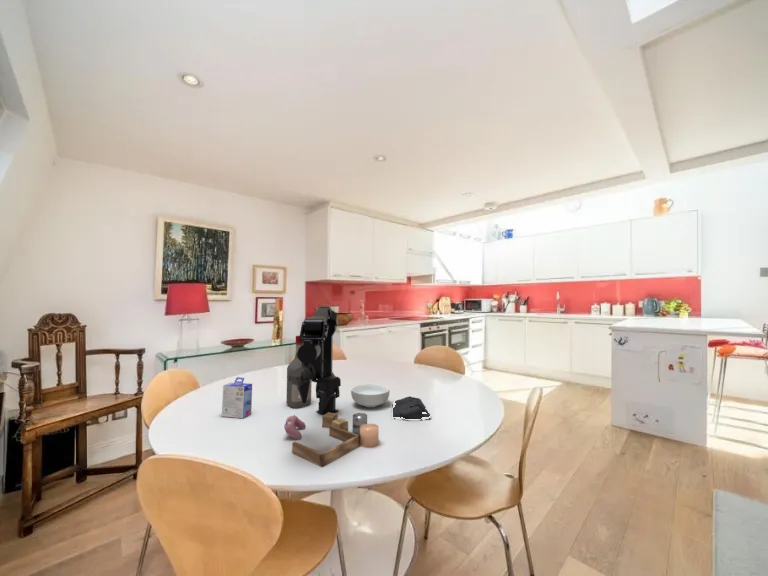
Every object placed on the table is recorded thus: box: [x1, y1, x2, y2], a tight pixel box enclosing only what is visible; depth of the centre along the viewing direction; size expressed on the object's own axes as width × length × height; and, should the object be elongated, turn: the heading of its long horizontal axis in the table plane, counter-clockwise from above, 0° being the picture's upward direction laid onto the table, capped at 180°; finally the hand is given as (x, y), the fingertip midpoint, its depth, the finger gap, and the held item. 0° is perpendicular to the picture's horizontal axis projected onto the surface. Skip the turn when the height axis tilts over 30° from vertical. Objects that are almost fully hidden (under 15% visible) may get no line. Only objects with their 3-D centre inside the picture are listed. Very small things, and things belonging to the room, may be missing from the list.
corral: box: [291, 426, 361, 468], centre depth 94 cm, size 16×13×3 cm
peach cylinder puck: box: [360, 423, 380, 448], centre depth 98 cm, size 6×6×5 cm
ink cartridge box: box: [221, 376, 253, 419], centre depth 122 cm, size 10×6×14 cm, turn 78°
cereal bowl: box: [350, 383, 390, 408], centre depth 135 cm, size 17×17×7 cm
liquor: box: [286, 335, 312, 409], centre depth 136 cm, size 9×9×30 cm
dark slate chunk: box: [393, 396, 431, 419], centre depth 128 cm, size 15×22×5 cm
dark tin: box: [351, 412, 368, 435], centre depth 105 cm, size 5×5×6 cm
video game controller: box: [283, 414, 306, 440], centre depth 105 cm, size 10×5×7 cm, turn 5°
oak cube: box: [332, 417, 349, 431], centre depth 106 cm, size 4×4×4 cm
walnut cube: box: [321, 412, 339, 429], centre depth 112 cm, size 4×4×4 cm
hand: (313, 405), depth 99 cm, fingers open, 9 cm apart
